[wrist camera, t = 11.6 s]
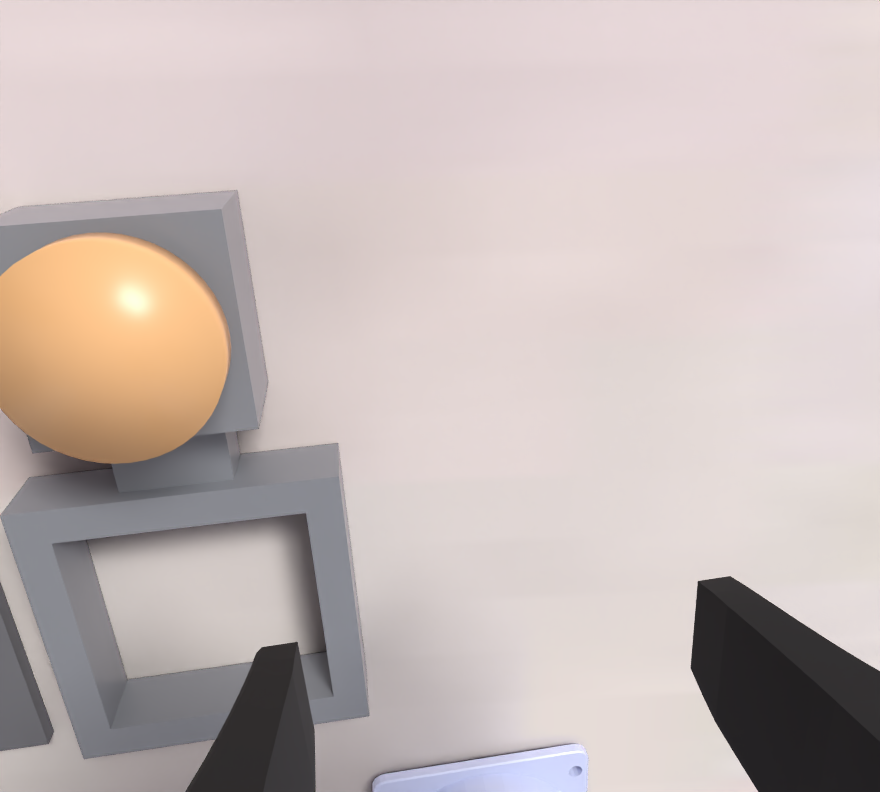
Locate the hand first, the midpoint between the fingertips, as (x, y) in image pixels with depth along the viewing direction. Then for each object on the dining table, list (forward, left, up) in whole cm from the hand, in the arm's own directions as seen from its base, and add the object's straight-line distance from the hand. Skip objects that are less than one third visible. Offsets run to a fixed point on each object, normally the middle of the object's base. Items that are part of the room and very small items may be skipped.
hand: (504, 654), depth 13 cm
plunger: (+4, +7, -9) cm, 12 cm away
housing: (0, +7, -10) cm, 12 cm away
